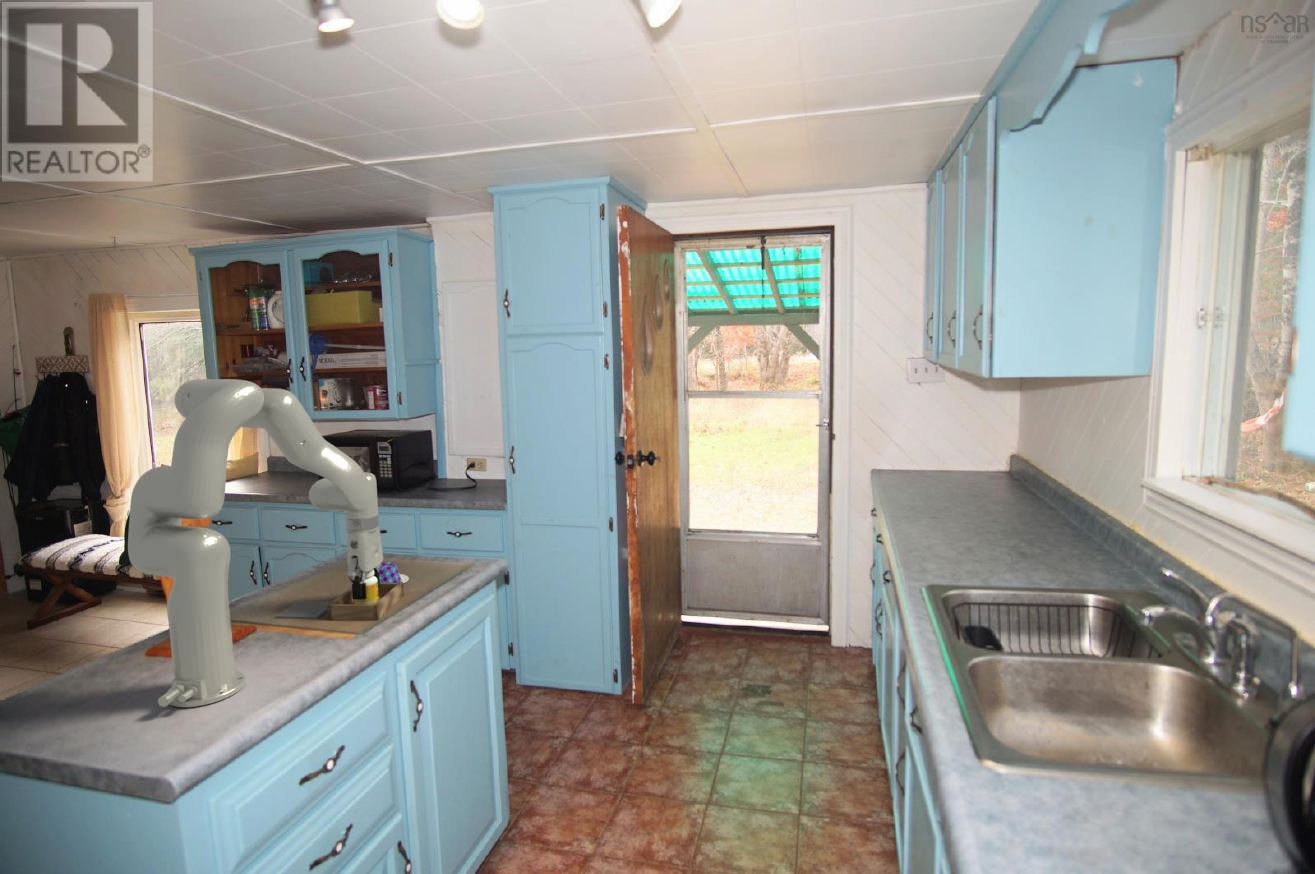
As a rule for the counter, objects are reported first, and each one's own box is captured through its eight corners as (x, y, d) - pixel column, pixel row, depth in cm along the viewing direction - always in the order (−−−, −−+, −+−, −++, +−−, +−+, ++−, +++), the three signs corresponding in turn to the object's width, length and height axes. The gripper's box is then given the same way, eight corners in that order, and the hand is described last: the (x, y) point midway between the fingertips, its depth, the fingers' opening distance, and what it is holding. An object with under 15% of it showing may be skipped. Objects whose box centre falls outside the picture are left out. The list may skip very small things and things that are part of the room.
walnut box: (377, 620, 164) (376, 606, 163) (327, 619, 164) (326, 605, 164) (403, 595, 180) (403, 582, 179) (358, 595, 180) (357, 582, 179)
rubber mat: (317, 618, 165) (317, 616, 165) (276, 617, 165) (276, 616, 165) (337, 602, 175) (337, 601, 175) (298, 602, 175) (298, 600, 175)
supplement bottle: (353, 606, 172) (350, 569, 171) (375, 601, 176) (372, 565, 174) (359, 613, 168) (357, 575, 167) (382, 607, 171) (379, 570, 170)
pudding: (371, 576, 196) (370, 558, 195) (414, 575, 196) (413, 558, 195) (354, 591, 184) (353, 572, 183) (400, 590, 184) (399, 571, 183)
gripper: (361, 533, 160) (366, 606, 163) (391, 514, 177) (395, 581, 180) (329, 532, 160) (334, 606, 163) (362, 514, 178) (367, 581, 180)
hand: (366, 592), depth 171 cm, fingers open, 6 cm apart
